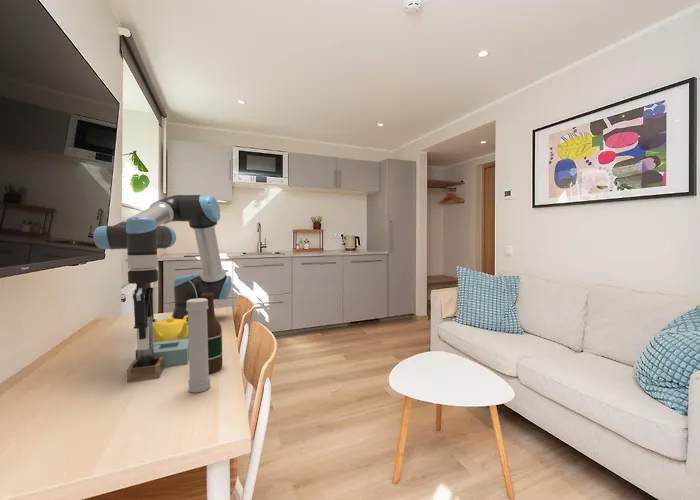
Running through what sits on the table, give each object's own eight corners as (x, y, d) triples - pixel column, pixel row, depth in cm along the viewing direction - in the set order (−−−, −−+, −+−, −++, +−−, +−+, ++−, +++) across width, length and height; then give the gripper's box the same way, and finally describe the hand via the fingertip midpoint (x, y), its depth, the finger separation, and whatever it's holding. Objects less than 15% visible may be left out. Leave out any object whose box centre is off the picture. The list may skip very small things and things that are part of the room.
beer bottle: (197, 377, 93) (195, 296, 92) (193, 368, 99) (191, 292, 98) (225, 371, 97) (223, 293, 96) (220, 362, 103) (218, 290, 103)
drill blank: (140, 368, 96) (138, 316, 95) (155, 366, 97) (153, 315, 97) (136, 373, 92) (134, 319, 92) (152, 371, 94) (150, 318, 93)
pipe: (214, 384, 88) (211, 277, 87) (202, 395, 82) (198, 280, 81) (196, 383, 89) (192, 277, 88) (181, 394, 82) (178, 280, 81)
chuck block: (152, 356, 110) (152, 342, 110) (191, 351, 114) (190, 338, 114) (144, 369, 99) (143, 354, 98) (187, 363, 103) (186, 348, 103)
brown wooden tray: (134, 371, 97) (134, 360, 97) (164, 367, 100) (163, 356, 100) (126, 382, 90) (126, 370, 90) (159, 377, 93) (158, 365, 92)
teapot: (151, 339, 130) (150, 316, 129) (189, 334, 136) (189, 311, 136) (147, 350, 117) (147, 324, 116) (190, 343, 123) (189, 319, 123)
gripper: (135, 267, 100) (138, 340, 101) (118, 272, 85) (121, 358, 85) (162, 266, 103) (165, 337, 104) (151, 271, 87) (154, 354, 88)
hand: (145, 346), depth 95 cm, fingers closed on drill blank, 4 cm apart
